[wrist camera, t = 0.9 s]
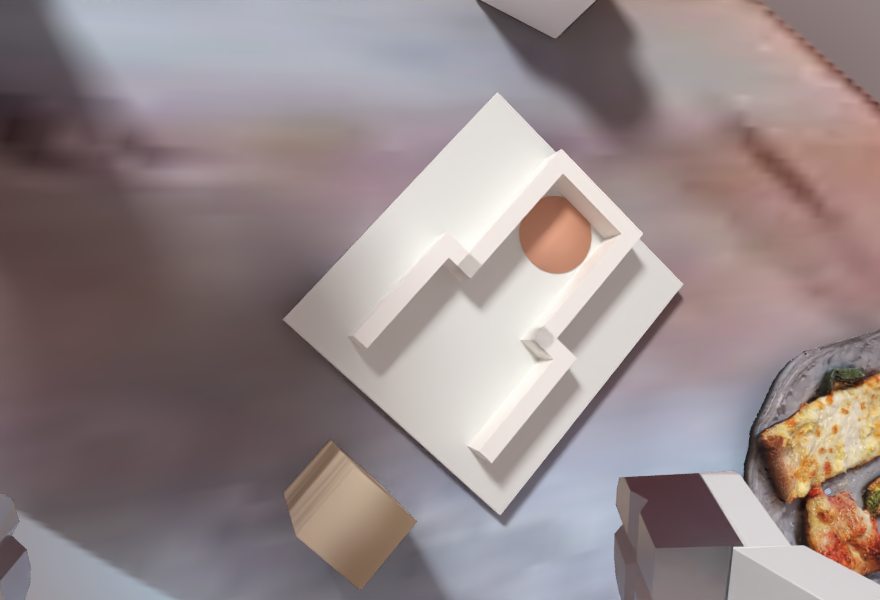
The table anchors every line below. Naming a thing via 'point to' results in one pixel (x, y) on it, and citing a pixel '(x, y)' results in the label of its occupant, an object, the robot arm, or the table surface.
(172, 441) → the table surface
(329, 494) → the beech peg
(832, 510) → the food plate
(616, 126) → the table surface
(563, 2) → the medicine bottle
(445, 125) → the table surface
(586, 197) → the keyhole dock
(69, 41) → the table surface
